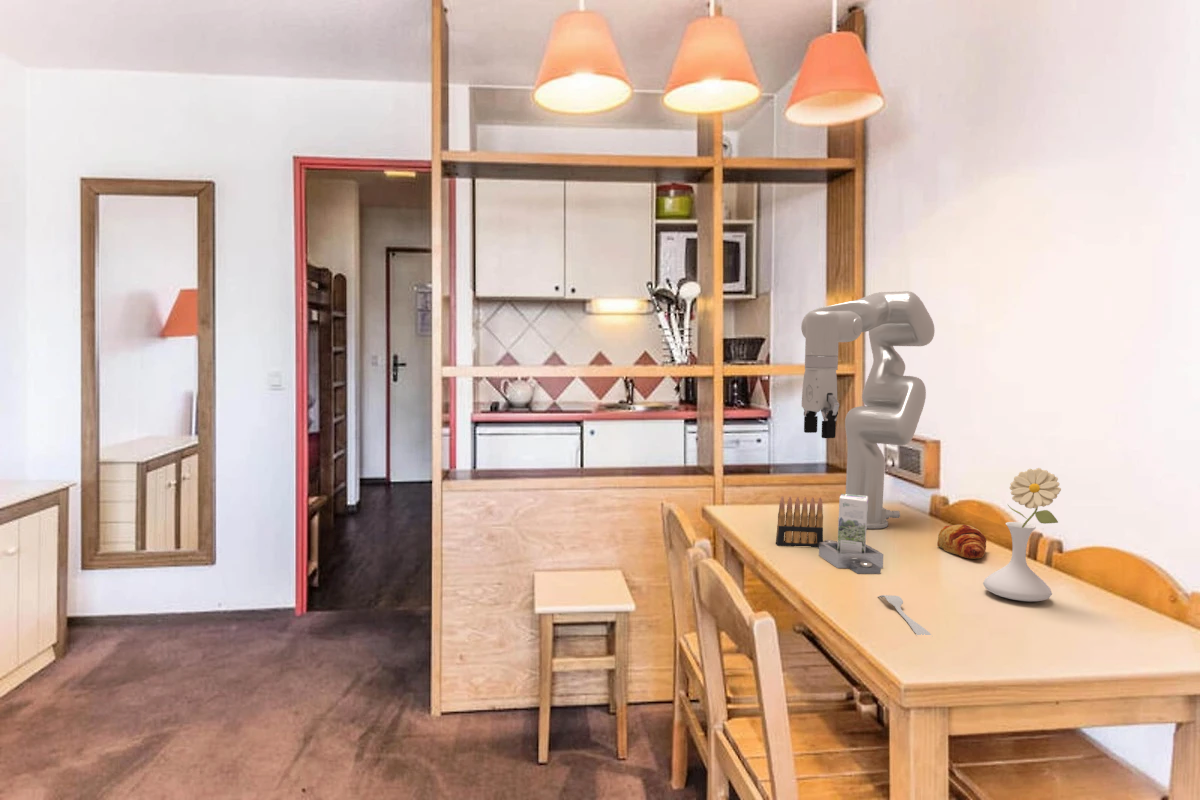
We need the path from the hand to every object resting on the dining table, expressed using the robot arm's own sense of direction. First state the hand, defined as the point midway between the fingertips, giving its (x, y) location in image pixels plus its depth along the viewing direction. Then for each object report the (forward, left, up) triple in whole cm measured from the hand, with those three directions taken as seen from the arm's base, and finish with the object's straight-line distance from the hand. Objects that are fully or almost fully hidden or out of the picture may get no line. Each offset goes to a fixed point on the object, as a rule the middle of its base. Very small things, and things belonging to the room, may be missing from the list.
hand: (819, 435), depth 179 cm
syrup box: (-1, +18, -26) cm, 31 cm away
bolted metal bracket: (-1, +16, -26) cm, 30 cm away
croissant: (-32, +9, -26) cm, 42 cm away
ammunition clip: (+5, +4, -26) cm, 27 cm away
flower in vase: (-23, +43, -26) cm, 55 cm away
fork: (+5, +51, -26) cm, 57 cm away
